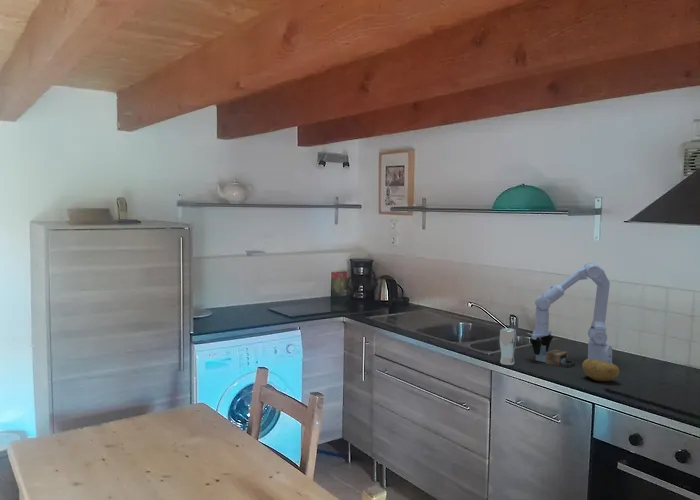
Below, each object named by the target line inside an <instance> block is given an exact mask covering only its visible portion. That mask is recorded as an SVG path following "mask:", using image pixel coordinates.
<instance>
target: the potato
mask: <svg viewBox="0 0 700 500" xmlns="http://www.w3.org/2000/svg"><path fill="white" fill-rule="evenodd" d="M581 366H582V368H581V369H582V370H583V372H584V374H585V375H587V376H588V377H589V378H590V379H592V380H593V381H597V382H610V381H612V380H614V379H615V378H617V377H618V376H619V374H620V368H619V367H618V365H616V364H614V363H613V364H611V363H607V362H604V361H601V360H595V359H588V358H586V359H584V360H583V362H582V363H581Z"/></svg>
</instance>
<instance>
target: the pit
mask: <svg viewBox="0 0 700 500" xmlns="http://www.w3.org/2000/svg"><path fill="white" fill-rule="evenodd" d="M575 365H576V361H573V360H569V359H568V360H567V363H566V364H564V363H560V366H559V367H562V368H571V367H573V366H575Z"/></svg>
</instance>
